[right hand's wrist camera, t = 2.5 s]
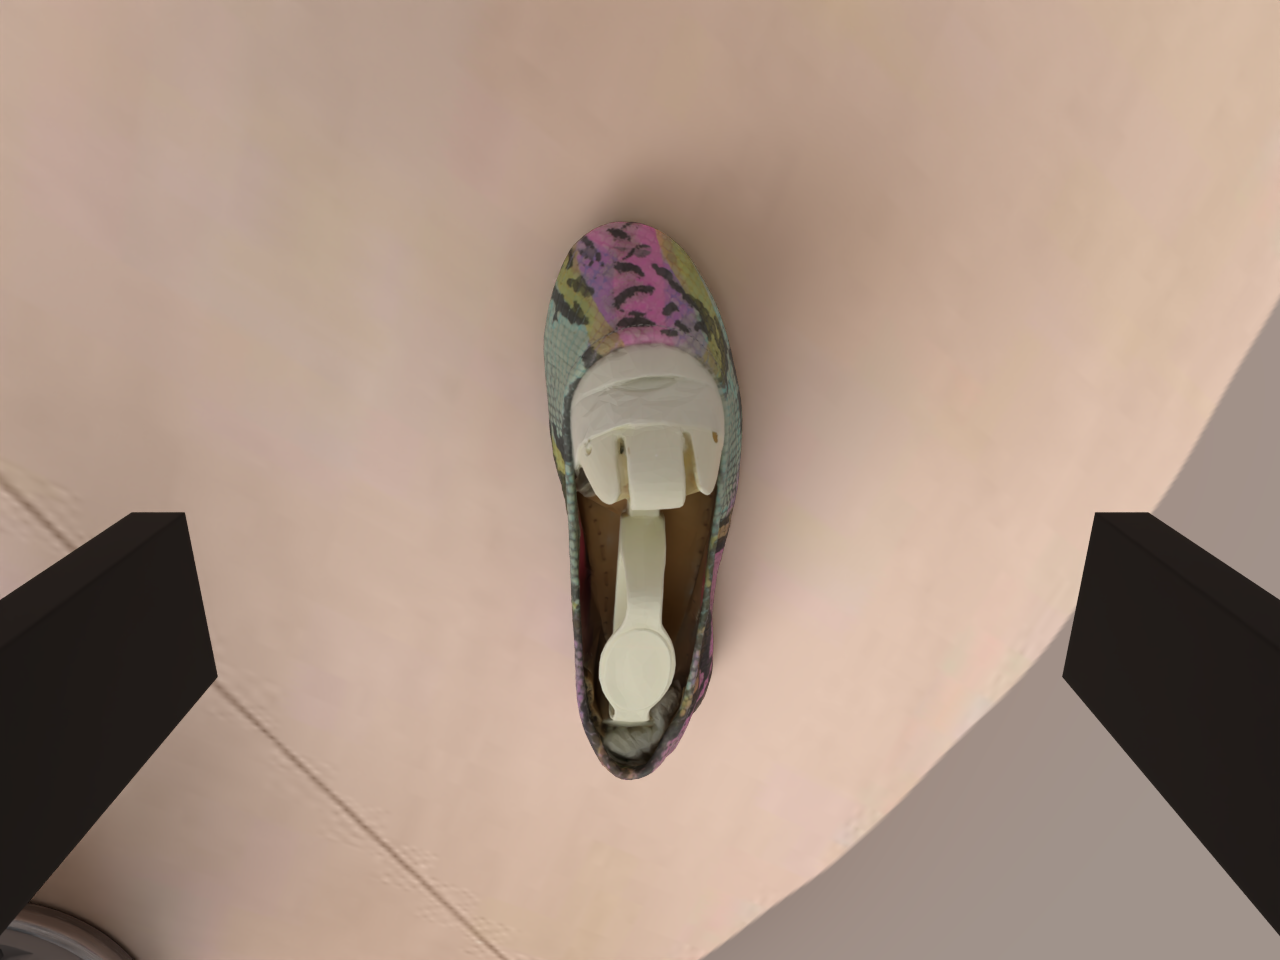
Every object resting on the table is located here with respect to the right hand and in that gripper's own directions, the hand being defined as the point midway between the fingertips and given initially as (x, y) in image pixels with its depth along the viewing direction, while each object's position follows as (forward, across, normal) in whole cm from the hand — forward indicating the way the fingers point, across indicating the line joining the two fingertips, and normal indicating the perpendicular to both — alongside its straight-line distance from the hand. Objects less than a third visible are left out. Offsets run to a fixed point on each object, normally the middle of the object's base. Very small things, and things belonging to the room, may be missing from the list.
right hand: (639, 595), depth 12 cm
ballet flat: (+26, 0, -8) cm, 27 cm away
